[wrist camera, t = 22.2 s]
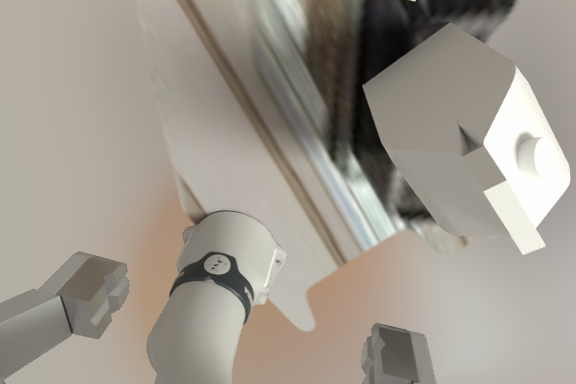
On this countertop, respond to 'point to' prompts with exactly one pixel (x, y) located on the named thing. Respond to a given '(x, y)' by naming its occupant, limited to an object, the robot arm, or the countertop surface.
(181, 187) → the countertop surface
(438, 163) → the milk
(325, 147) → the countertop surface
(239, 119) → the countertop surface
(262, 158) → the countertop surface
